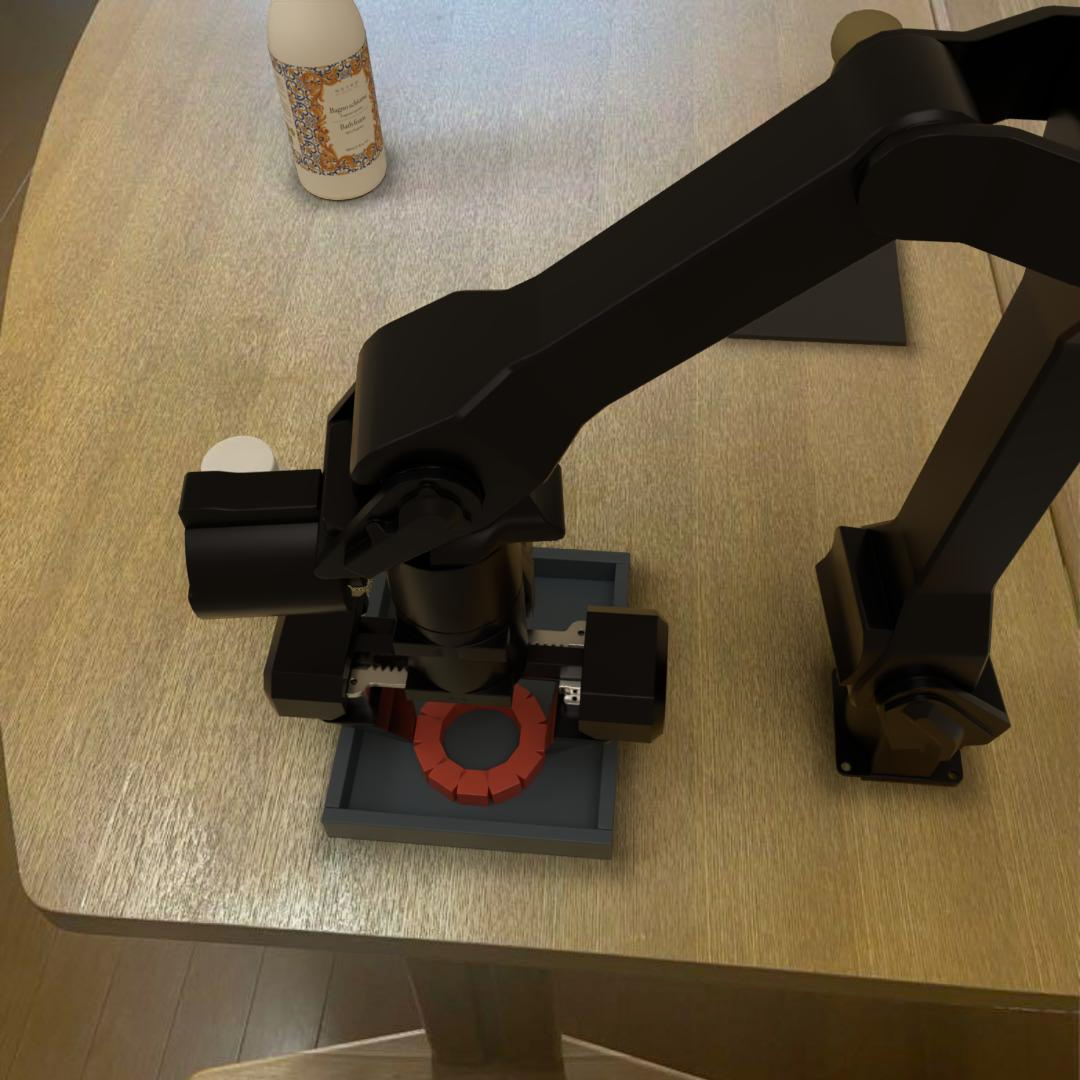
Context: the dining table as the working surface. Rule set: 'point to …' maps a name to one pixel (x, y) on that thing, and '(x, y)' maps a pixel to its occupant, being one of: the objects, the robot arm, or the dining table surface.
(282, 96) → the bath foam
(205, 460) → the supplement bottle
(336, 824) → the tray
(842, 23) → the cork
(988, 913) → the dining table surface
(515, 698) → the ring
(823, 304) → the mat
